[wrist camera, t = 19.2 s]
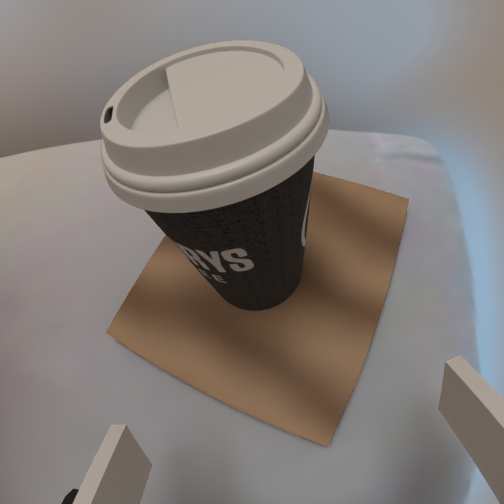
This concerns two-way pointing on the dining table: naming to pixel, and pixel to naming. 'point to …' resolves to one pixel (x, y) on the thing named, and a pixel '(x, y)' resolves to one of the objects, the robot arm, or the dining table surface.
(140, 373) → the dining table surface
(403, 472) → the dining table surface
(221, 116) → the coffee cup
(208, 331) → the wooden board
